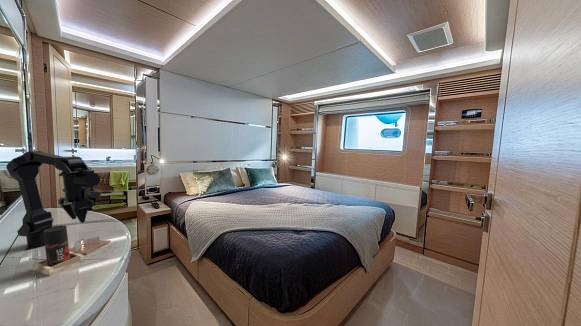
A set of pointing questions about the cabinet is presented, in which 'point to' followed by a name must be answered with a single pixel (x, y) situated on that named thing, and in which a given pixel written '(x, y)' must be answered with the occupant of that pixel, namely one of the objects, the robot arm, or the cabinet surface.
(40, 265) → the beige square frame
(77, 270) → the cabinet surface
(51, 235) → the deodorant
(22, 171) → the robot arm
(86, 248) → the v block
